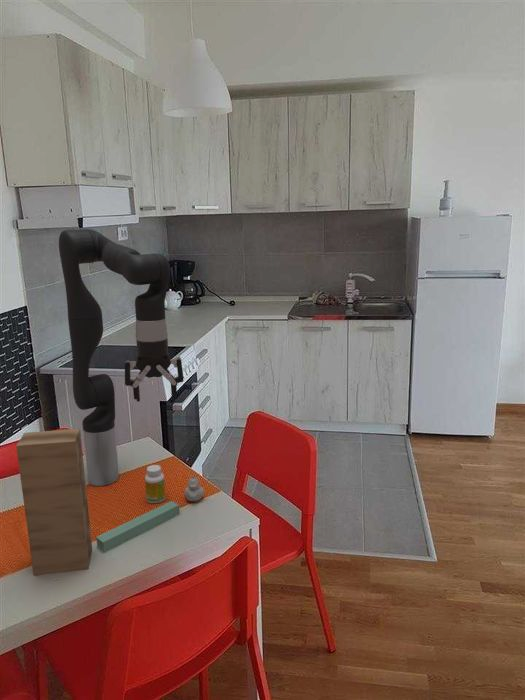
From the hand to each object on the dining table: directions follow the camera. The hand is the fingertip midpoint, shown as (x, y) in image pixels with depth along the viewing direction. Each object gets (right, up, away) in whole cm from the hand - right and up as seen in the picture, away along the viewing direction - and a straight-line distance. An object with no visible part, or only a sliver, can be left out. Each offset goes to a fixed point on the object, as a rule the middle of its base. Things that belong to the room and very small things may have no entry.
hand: (155, 399), depth 133 cm
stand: (-20, -38, -9) cm, 43 cm away
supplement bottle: (-4, -31, +19) cm, 36 cm away
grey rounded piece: (+7, -31, +19) cm, 37 cm away
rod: (-5, -35, +4) cm, 35 cm away
